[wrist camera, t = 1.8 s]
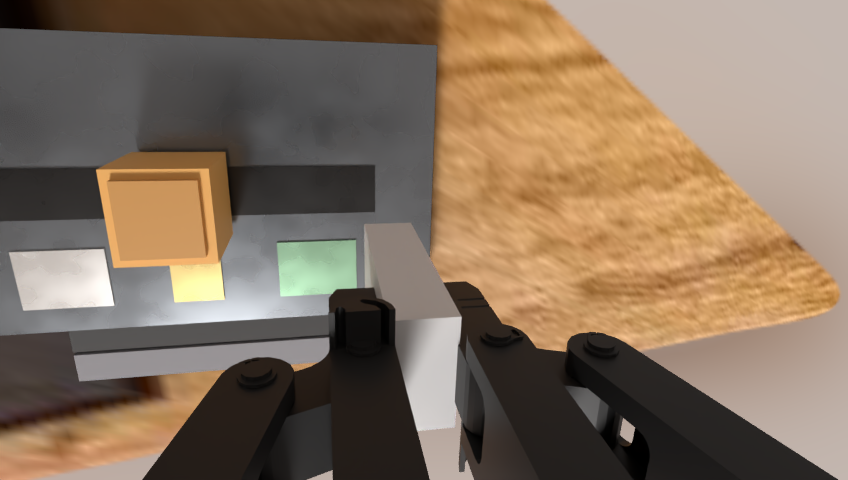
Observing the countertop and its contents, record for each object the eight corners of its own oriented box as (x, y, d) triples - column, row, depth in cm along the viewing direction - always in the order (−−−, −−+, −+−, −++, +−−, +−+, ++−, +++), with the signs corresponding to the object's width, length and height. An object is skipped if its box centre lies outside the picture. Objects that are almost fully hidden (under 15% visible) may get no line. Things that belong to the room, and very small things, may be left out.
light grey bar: (91, 365, 29) (79, 381, 28) (86, 340, 29) (73, 355, 27) (338, 346, 32) (339, 360, 31) (337, 323, 32) (338, 336, 30)
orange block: (144, 236, 24) (111, 270, 20) (131, 152, 23) (92, 171, 19) (233, 233, 25) (217, 266, 21) (225, 151, 24) (207, 170, 20)
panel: (-26, 311, 27) (-66, 340, 24) (-107, 26, 23) (-167, 21, 20) (418, 286, 32) (428, 309, 29) (424, 46, 27) (437, 45, 24)
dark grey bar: (85, 337, 29) (73, 352, 27) (80, 311, 28) (67, 325, 27) (337, 321, 32) (338, 333, 30) (336, 297, 31) (337, 309, 30)
